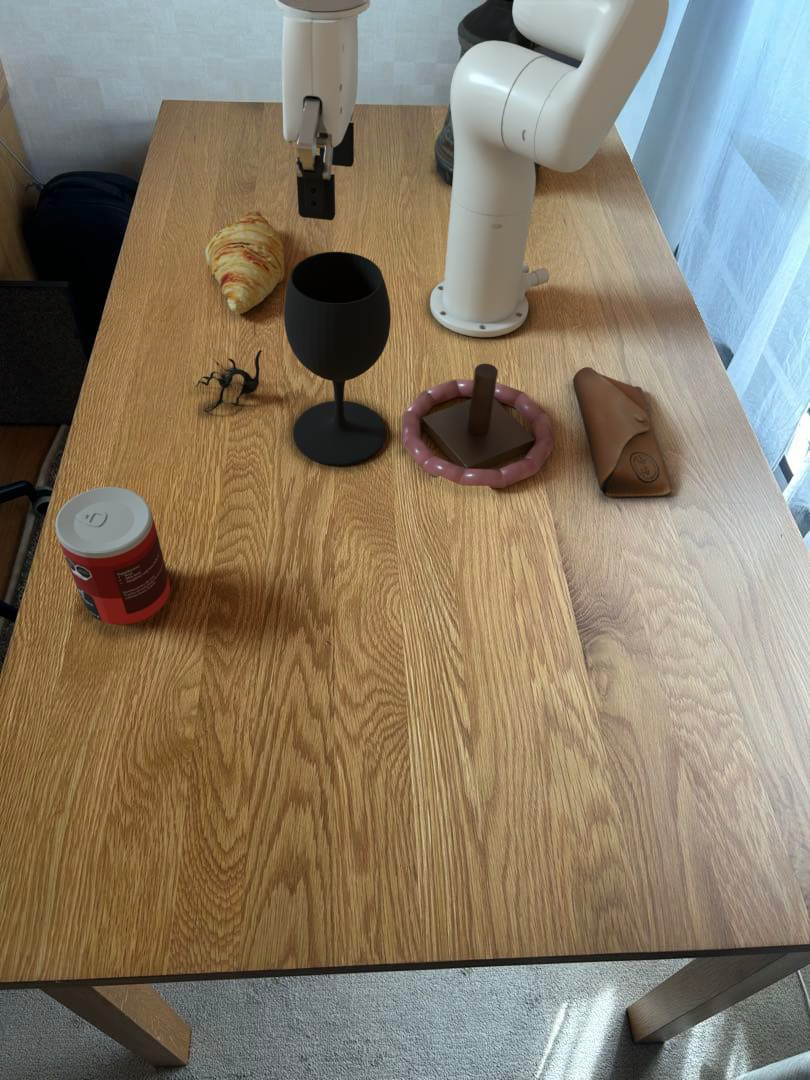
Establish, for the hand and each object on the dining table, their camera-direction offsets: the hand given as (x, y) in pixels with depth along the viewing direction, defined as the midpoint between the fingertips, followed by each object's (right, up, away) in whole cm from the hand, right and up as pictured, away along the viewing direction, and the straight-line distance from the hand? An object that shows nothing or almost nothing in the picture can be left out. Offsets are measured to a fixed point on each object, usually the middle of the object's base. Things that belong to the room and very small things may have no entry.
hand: (327, 189), depth 83 cm
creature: (-13, -16, +21) cm, 29 cm away
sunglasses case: (+31, -21, +18) cm, 42 cm away
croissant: (-14, +3, +36) cm, 39 cm away
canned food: (-19, -38, +1) cm, 42 cm away
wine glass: (0, -21, +17) cm, 27 cm away
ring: (+15, -20, +17) cm, 30 cm away
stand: (+15, -21, +17) cm, 31 cm away
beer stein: (+21, +24, +57) cm, 65 cm away
